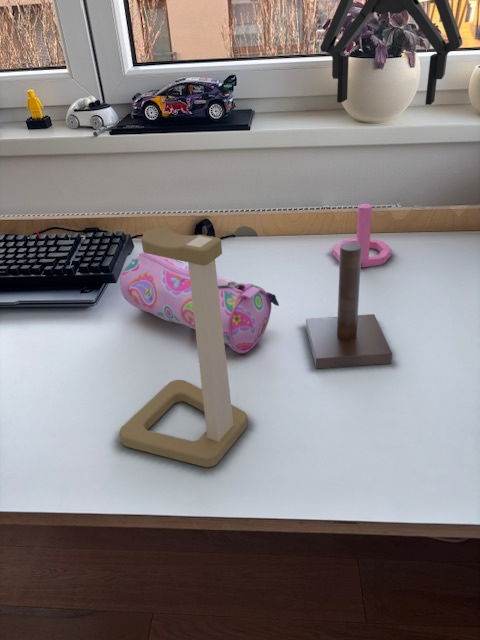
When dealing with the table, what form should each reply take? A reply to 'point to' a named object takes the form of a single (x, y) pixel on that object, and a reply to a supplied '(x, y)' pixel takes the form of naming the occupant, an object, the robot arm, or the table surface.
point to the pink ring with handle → (366, 240)
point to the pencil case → (176, 299)
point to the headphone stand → (215, 393)
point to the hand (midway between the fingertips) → (384, 102)
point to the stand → (348, 323)
